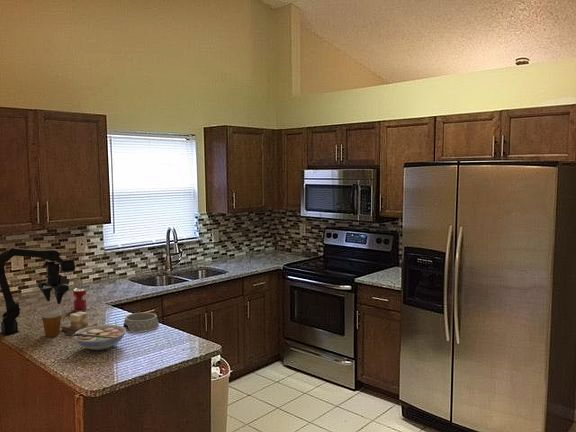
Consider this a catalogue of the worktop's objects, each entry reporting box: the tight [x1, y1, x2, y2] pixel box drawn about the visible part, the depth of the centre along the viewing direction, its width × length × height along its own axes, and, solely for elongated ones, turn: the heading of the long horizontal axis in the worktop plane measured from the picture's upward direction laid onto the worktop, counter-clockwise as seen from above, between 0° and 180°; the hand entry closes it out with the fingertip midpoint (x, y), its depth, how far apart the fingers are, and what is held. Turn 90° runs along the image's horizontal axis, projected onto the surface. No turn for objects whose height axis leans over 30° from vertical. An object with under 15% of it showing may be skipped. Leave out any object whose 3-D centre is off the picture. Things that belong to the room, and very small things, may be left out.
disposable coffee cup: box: [40, 308, 63, 338], centre depth 244 cm, size 10×10×12 cm
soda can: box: [72, 288, 88, 312], centre depth 288 cm, size 7×7×12 cm
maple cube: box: [69, 311, 89, 327], centre depth 254 cm, size 6×6×6 cm
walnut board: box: [61, 321, 98, 333], centre depth 254 cm, size 12×12×2 cm
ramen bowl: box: [64, 324, 127, 351], centre depth 227 cm, size 25×23×8 cm
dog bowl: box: [122, 311, 160, 332], centre depth 259 cm, size 17×18×5 cm
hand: (53, 302), depth 258 cm, fingers open, 9 cm apart
